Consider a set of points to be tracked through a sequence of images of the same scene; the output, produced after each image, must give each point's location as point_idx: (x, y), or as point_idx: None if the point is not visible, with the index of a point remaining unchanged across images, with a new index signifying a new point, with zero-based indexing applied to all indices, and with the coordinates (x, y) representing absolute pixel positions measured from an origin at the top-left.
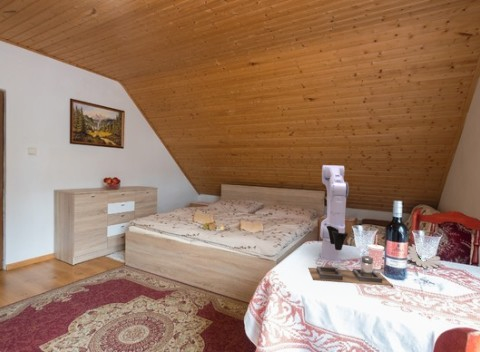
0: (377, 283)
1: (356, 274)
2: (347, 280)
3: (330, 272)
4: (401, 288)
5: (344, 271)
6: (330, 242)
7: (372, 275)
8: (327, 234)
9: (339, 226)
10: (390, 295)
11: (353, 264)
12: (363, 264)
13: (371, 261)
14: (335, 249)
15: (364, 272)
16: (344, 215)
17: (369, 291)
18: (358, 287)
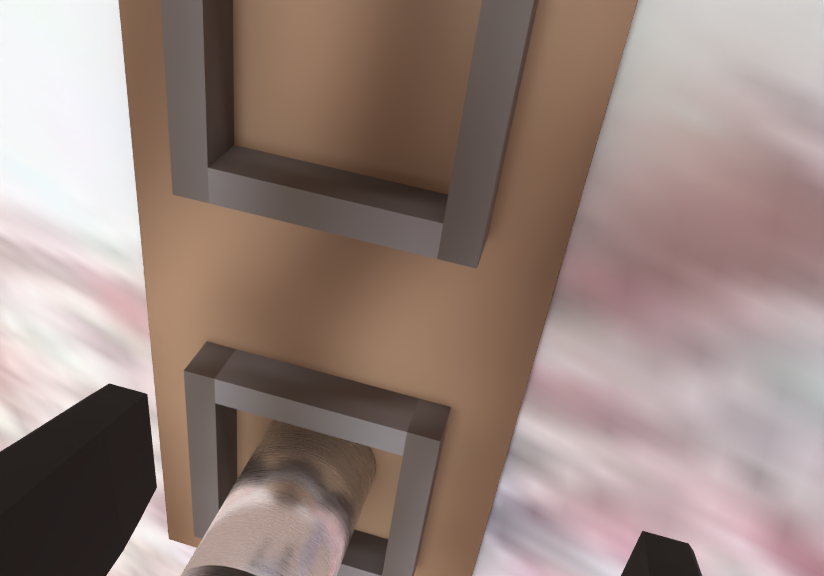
0: (188, 462)
1: (295, 391)
2: (198, 224)
3: (443, 122)
4: (170, 564)
5: (485, 336)
6: (670, 566)
7: (375, 535)
8: None
9: None
10: (15, 420)
11: (763, 569)
12: (214, 543)
13: None
14: (136, 391)
15: (245, 471)
16: None
17: (32, 308)
18: (90, 257)
